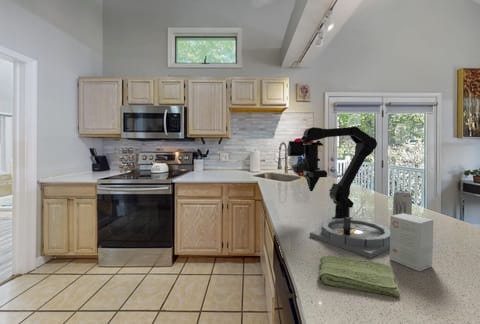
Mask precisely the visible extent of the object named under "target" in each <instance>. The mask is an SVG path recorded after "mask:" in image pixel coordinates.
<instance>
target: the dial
mask: <svg viewBox="0 0 480 324" xmlns="http://www.w3.org/2000/svg"><path fill="white" fill-rule="evenodd" d="M351 218H352V217H351ZM351 218H349V217H344V221H343V223H339V224H334V225H332V226H331V227H330V229H332V230H333V231H335V232H339V233H344V234H345V235H350V236H358V237H378V236H380V235H382V233H381V232H380V231H379V230H377V229H375V228H373V227H370V226H366V225H361V224H354V223H351Z"/></svg>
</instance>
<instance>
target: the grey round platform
mask: <svg viewBox="0 0 480 324" xmlns="http://www.w3.org/2000/svg"><path fill="white" fill-rule="evenodd" d="M343 221H344V218H341V219H333V218H331V219H327V220H325V221H323V222H322V224H321V228H319V229H316V230H314V231H310V232H309V237H311V238H313V239H316V240H318V241H322V242H324V243H328V244H329V245H333V246H335V247H338V248H341V249H344V250H346V251H349V252H352V253H355V254H358V255H360V256H363V257H366V258H369V259H372V258H374V257H376V256H377V255H379V254H381V253H383V252H385V251H387V250H388V249H389V250H390V227H386V226H385V225H382V224H380V223H377V222H373V221H369V220H365V219H359V218H358V219H356V218H353V219H351V223H354V224H361V225H366V226H370V227H373V228H375V229H377V230H379V231H380V232H381V233H382V235H380V236H378V237H358V236H350V235H345V234H344V233H339V232H335V231H333V230H332V229H330V227H331V226H332V225H334V224H339V223H343Z"/></svg>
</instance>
